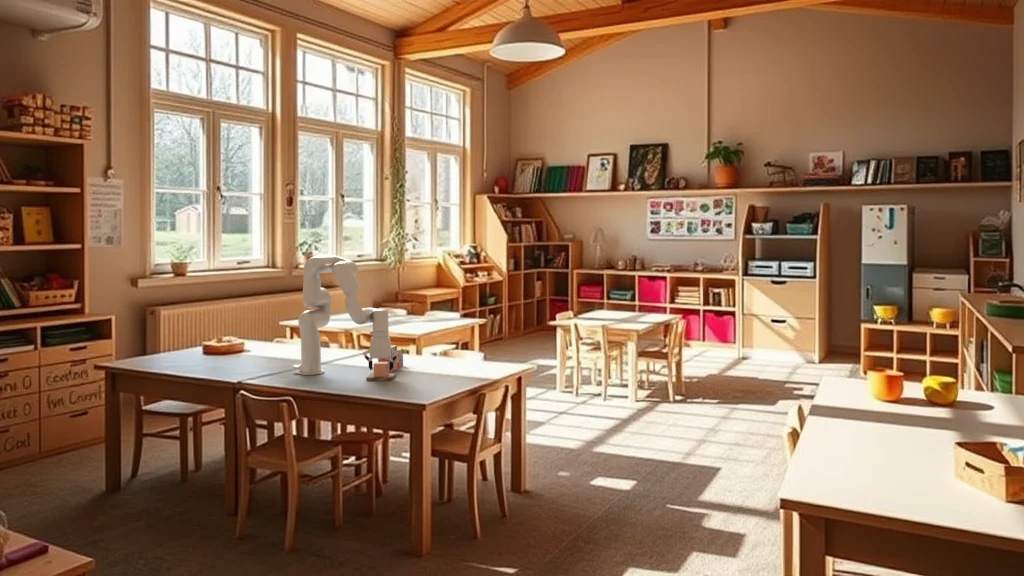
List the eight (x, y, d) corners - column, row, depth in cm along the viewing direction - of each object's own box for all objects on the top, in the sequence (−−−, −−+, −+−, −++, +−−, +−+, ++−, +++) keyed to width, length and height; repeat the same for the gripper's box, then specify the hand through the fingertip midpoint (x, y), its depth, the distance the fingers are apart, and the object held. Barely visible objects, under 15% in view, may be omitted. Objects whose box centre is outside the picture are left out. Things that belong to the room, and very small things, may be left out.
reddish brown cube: (373, 376, 394) (373, 364, 393) (376, 374, 400) (375, 362, 399) (386, 376, 394) (386, 364, 393) (388, 374, 400) (388, 362, 399)
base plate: (366, 380, 391) (366, 369, 391) (371, 376, 403) (371, 365, 403) (391, 380, 391) (391, 369, 390) (395, 376, 403) (395, 365, 402)
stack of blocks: (392, 365, 435) (391, 342, 435) (403, 365, 434) (403, 342, 433) (378, 372, 415) (377, 348, 414) (389, 372, 413) (389, 348, 412)
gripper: (361, 335, 392) (361, 371, 393) (397, 335, 391) (397, 371, 393) (364, 333, 399) (364, 368, 401) (399, 333, 399) (400, 368, 400)
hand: (381, 369), depth 397 cm, fingers open, 9 cm apart
